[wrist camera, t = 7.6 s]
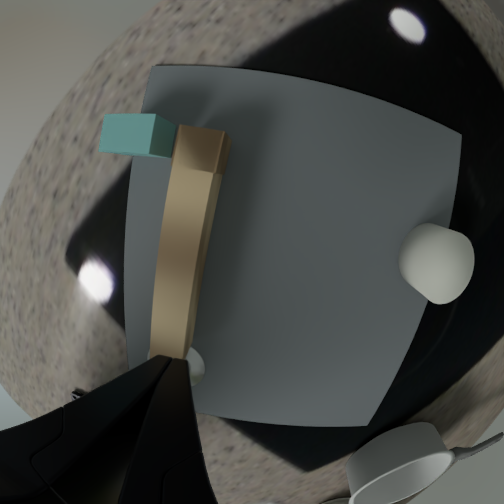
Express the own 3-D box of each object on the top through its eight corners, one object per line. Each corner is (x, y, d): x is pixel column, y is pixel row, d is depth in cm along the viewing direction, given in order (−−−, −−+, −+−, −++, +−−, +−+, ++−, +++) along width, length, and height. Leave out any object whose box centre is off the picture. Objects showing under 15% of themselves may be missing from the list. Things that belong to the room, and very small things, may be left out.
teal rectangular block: (171, 158, 15) (148, 153, 12) (127, 155, 15) (98, 151, 12) (177, 126, 15) (155, 113, 12) (133, 124, 15) (104, 114, 12)
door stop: (438, 289, 17) (460, 306, 14) (390, 282, 17) (410, 300, 14) (455, 230, 15) (481, 239, 13) (407, 216, 15) (432, 224, 13)
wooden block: (193, 342, 18) (182, 368, 15) (163, 334, 18) (148, 358, 15) (232, 140, 15) (225, 131, 12) (194, 134, 15) (179, 124, 12)
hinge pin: (203, 389, 20) (195, 421, 16) (150, 376, 20) (134, 405, 16) (208, 344, 18) (198, 376, 15) (148, 331, 18) (129, 358, 15)
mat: (366, 424, 20) (366, 425, 20) (132, 393, 20) (131, 395, 20) (460, 135, 14) (461, 134, 14) (153, 67, 14) (152, 66, 14)
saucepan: (467, 437, 22) (482, 463, 17) (334, 481, 23) (341, 516, 18) (499, 377, 19) (523, 404, 14) (347, 429, 21) (360, 475, 15)
